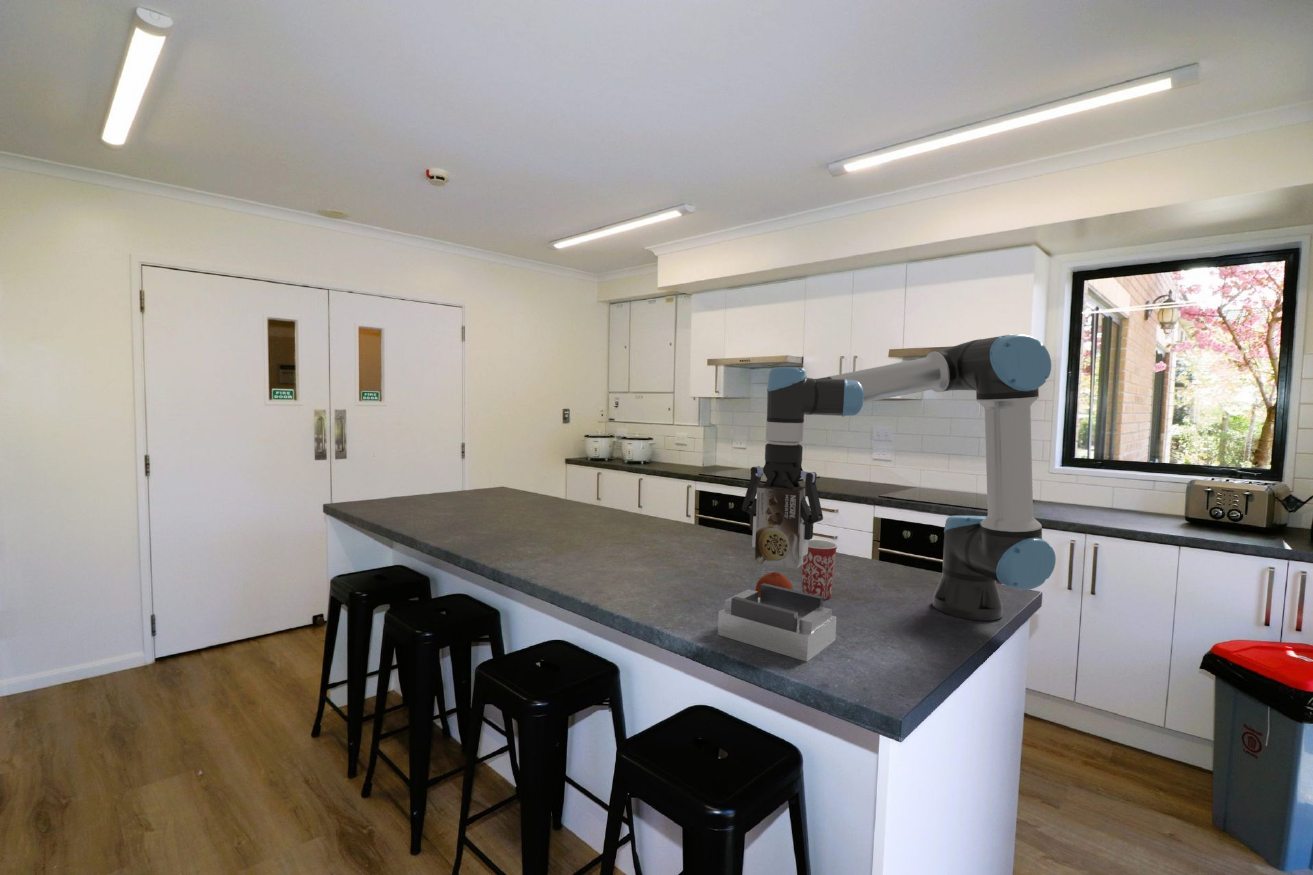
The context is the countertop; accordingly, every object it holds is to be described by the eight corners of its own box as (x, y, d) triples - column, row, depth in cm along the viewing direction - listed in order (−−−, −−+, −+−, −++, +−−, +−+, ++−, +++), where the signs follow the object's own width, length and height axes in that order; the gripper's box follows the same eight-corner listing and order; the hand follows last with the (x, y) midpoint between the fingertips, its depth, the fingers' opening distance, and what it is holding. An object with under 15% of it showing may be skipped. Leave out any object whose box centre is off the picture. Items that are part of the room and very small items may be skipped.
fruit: (752, 598, 153) (753, 567, 152) (788, 599, 153) (789, 568, 152) (757, 610, 144) (758, 577, 144) (795, 612, 144) (796, 578, 143)
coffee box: (803, 562, 128) (807, 486, 127) (797, 570, 122) (801, 490, 121) (761, 556, 132) (764, 482, 131) (752, 563, 126) (756, 485, 125)
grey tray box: (835, 640, 127) (837, 600, 127) (807, 661, 116) (808, 617, 116) (750, 616, 140) (752, 580, 139) (717, 634, 129) (719, 594, 128)
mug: (826, 604, 150) (828, 549, 149) (792, 595, 156) (794, 543, 155) (846, 592, 160) (848, 541, 159) (813, 584, 166) (815, 535, 165)
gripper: (844, 446, 122) (838, 556, 123) (745, 439, 135) (741, 538, 137) (829, 447, 116) (823, 564, 117) (727, 440, 129) (723, 544, 131)
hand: (779, 550), depth 127 cm, fingers closed on coffee box, 10 cm apart
